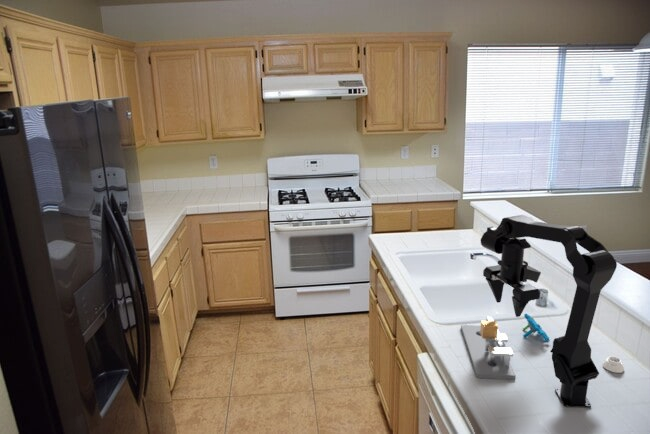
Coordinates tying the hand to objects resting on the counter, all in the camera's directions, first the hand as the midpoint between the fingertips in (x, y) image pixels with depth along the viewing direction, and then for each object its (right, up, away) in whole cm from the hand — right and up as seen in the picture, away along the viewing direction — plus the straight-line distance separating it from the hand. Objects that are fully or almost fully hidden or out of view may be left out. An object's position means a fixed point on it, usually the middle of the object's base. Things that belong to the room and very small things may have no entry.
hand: (507, 309), depth 134 cm
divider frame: (-3, -12, +4) cm, 13 cm away
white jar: (+27, -15, -6) cm, 31 cm away
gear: (+12, -11, +10) cm, 19 cm away
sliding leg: (-4, -12, 0) cm, 13 cm away
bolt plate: (-5, -13, +3) cm, 15 cm away
